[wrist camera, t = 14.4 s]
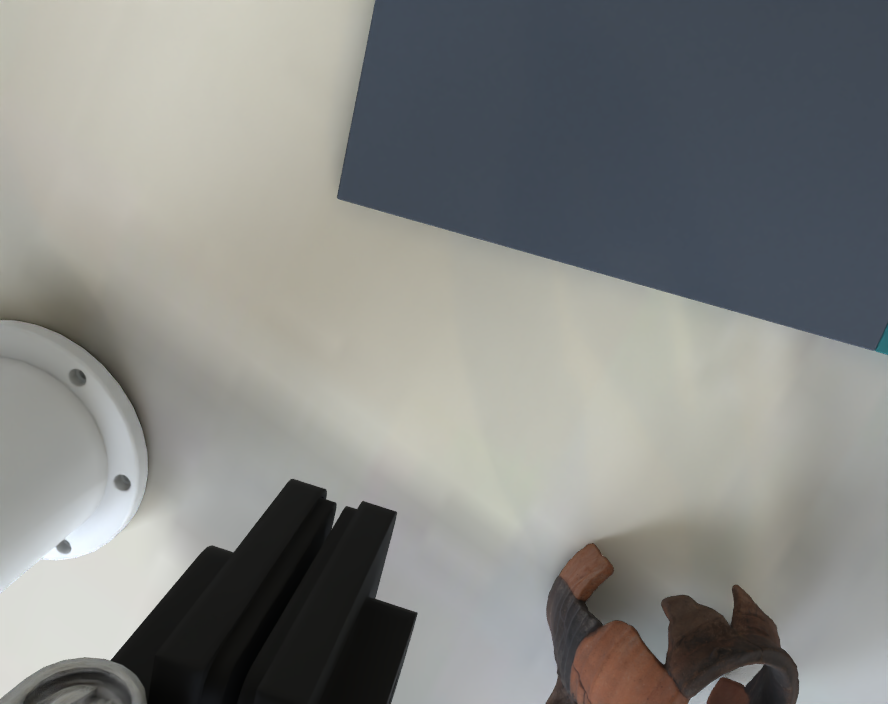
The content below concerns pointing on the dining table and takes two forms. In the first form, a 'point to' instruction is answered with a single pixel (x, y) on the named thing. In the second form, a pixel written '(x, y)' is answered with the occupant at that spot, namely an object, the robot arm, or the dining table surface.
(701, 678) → the pottery mug
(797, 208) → the mat
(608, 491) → the dining table surface
